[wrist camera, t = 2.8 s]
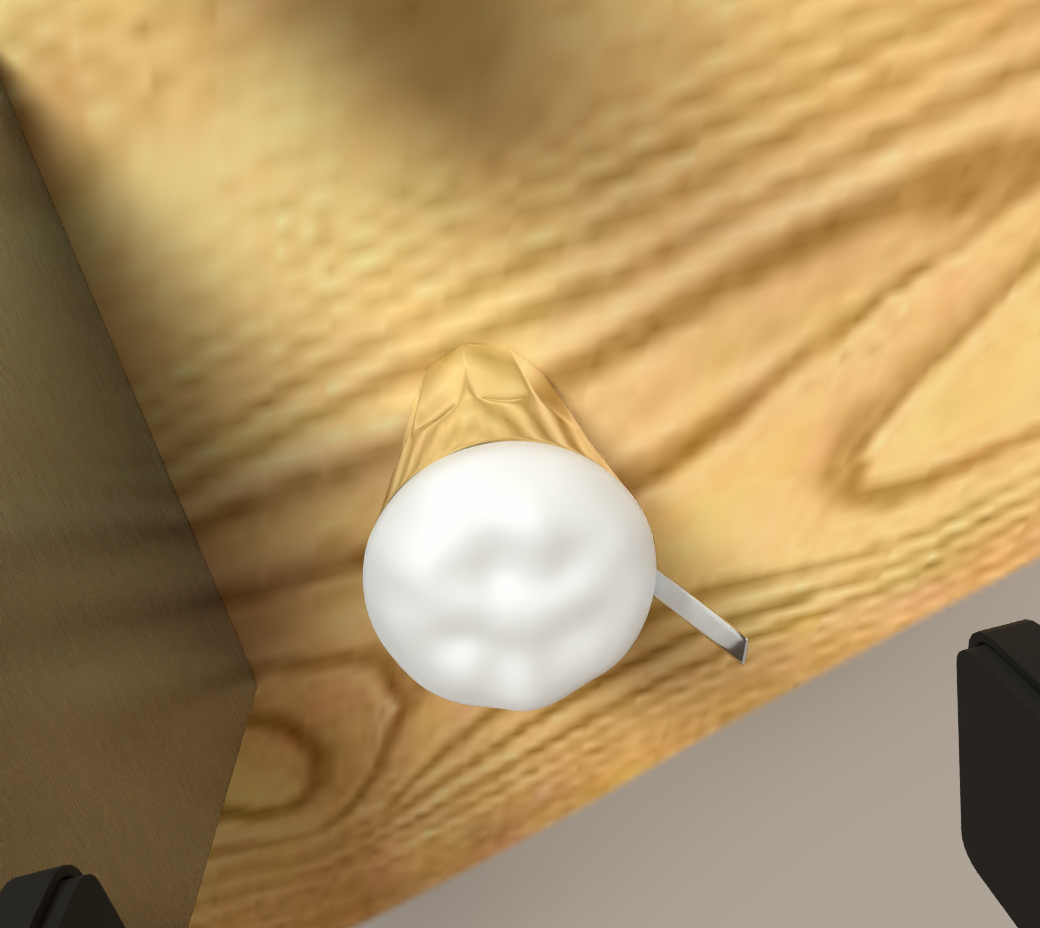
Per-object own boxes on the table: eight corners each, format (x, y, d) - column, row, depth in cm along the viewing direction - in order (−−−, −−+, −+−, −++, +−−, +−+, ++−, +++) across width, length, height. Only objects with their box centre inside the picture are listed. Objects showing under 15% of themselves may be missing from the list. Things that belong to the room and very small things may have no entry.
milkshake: (601, 494, 22) (723, 782, 13) (386, 492, 22) (355, 793, 12) (619, 316, 20) (774, 505, 11) (385, 310, 20) (347, 502, 11)
